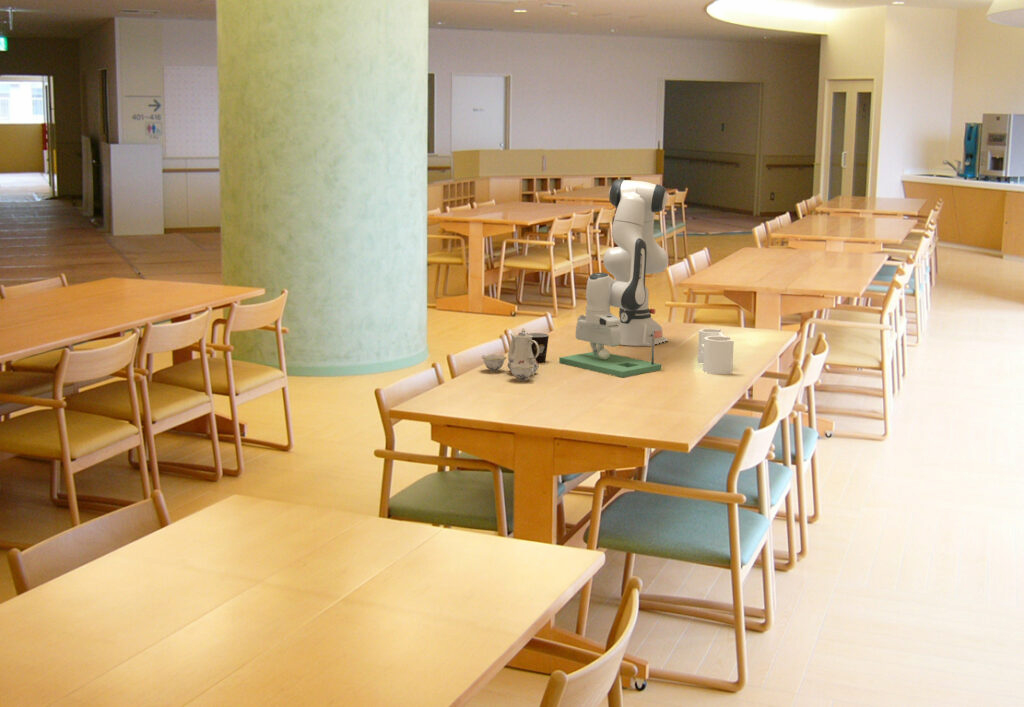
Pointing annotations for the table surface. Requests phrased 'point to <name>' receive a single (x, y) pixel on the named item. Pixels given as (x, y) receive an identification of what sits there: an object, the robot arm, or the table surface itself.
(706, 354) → the cylindrical containers
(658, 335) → the pin
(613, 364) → the green
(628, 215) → the robot arm
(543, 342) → the coffee mug
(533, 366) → the chinaware
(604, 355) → the ball
